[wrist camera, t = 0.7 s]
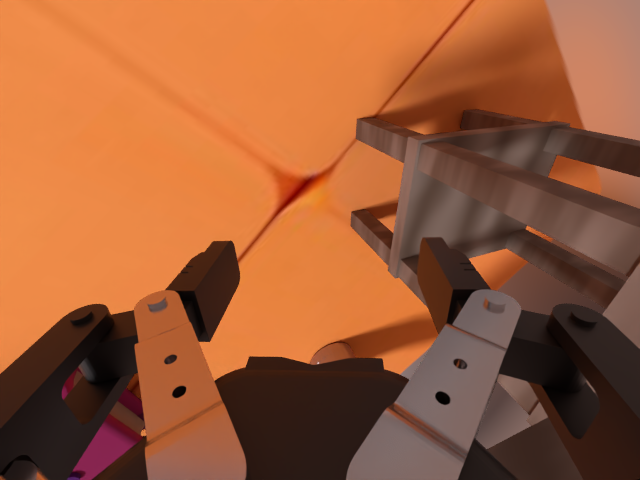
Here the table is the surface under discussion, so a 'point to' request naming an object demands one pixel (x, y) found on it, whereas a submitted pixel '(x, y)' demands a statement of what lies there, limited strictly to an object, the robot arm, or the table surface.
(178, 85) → the table surface
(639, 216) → the shelf stand
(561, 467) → the wooden mallet
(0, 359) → the table surface
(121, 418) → the book
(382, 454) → the robot arm
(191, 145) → the table surface
